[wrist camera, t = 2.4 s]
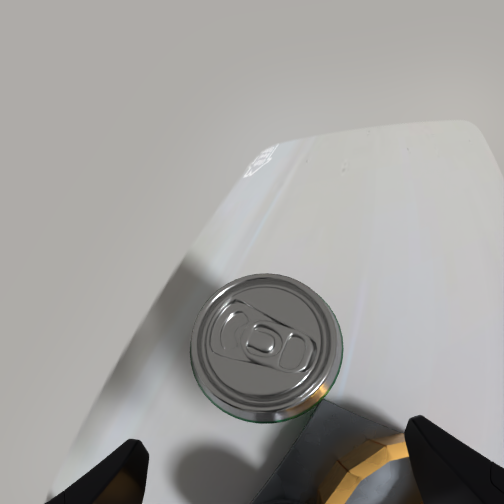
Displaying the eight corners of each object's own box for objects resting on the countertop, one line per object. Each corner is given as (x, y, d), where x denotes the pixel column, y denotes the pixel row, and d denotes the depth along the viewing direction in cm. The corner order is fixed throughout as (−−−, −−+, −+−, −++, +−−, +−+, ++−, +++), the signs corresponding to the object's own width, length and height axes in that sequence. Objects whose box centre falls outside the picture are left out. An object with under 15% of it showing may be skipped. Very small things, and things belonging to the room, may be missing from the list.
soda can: (256, 331, 20) (221, 243, 10) (323, 355, 19) (369, 289, 8) (228, 395, 18) (152, 380, 8) (297, 422, 17) (313, 450, 6)
